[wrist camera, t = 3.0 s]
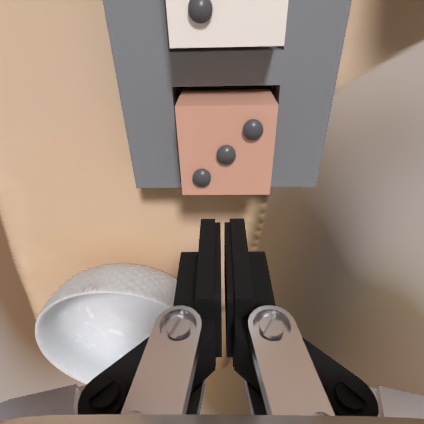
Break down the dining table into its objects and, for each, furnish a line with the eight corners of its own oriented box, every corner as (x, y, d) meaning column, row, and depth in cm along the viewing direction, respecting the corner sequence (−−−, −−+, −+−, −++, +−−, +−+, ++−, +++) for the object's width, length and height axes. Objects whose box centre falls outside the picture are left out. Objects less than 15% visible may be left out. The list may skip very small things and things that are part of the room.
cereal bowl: (220, 249, 32) (220, 304, 26) (203, 343, 41) (200, 400, 35) (52, 230, 31) (12, 283, 25) (73, 331, 40) (48, 387, 34)
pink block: (269, 89, 21) (279, 106, 18) (263, 168, 24) (270, 196, 21) (181, 90, 21) (174, 107, 18) (187, 169, 25) (181, 197, 21)
